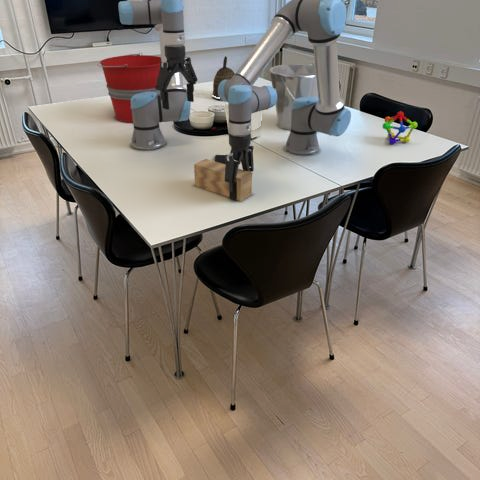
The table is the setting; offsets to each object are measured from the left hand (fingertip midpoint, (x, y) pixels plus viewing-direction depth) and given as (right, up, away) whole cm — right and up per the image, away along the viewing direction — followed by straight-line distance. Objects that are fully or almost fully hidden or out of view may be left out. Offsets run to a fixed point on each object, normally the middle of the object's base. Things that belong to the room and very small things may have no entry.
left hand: (178, 105), depth 170 cm
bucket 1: (-33, +17, +76) cm, 85 cm away
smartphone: (+16, -19, +19) cm, 31 cm away
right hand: (+23, -35, -8) cm, 43 cm away
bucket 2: (+53, +9, +63) cm, 83 cm away
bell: (+15, +39, +112) cm, 119 cm away
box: (+17, -33, -4) cm, 38 cm away
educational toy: (+98, -6, +41) cm, 106 cm away
